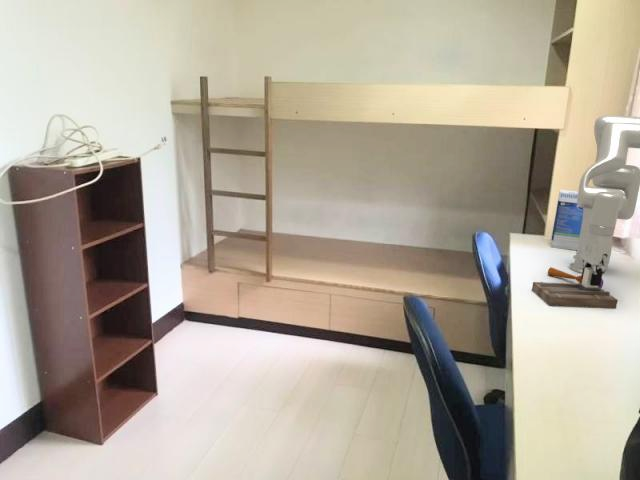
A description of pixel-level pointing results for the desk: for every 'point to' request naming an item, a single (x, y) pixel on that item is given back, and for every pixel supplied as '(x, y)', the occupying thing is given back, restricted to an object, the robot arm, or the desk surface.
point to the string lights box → (567, 221)
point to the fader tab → (588, 281)
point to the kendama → (566, 275)
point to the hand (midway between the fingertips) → (590, 281)
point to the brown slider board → (573, 295)
